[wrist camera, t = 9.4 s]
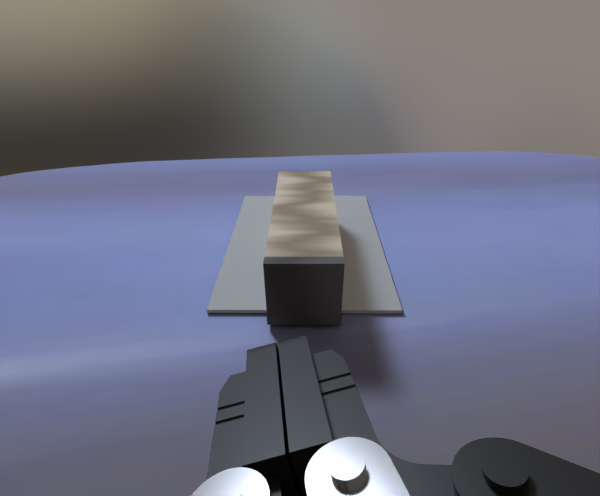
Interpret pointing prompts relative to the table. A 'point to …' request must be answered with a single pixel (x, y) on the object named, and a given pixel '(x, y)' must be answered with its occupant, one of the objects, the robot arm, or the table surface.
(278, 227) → the birch block
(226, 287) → the grey mat
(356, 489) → the robot arm
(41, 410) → the table surface
